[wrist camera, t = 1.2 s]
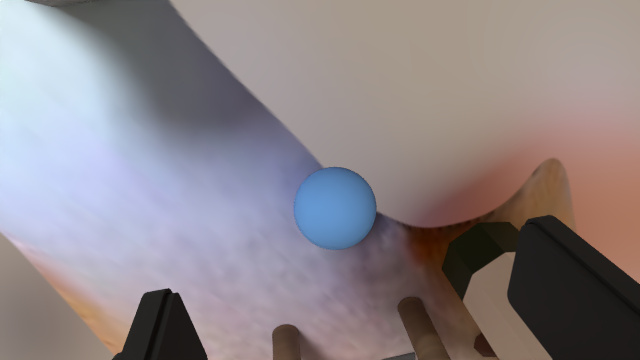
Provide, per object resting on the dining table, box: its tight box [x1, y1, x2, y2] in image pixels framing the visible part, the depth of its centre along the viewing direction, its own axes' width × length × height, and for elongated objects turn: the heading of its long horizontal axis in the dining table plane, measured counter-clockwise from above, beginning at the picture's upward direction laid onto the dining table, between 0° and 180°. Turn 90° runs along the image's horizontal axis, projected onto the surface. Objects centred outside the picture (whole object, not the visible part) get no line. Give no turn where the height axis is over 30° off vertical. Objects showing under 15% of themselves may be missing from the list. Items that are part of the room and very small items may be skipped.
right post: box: [397, 297, 451, 360], centre depth 33 cm, size 3×3×9 cm
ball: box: [294, 167, 376, 250], centre depth 26 cm, size 6×6×6 cm
